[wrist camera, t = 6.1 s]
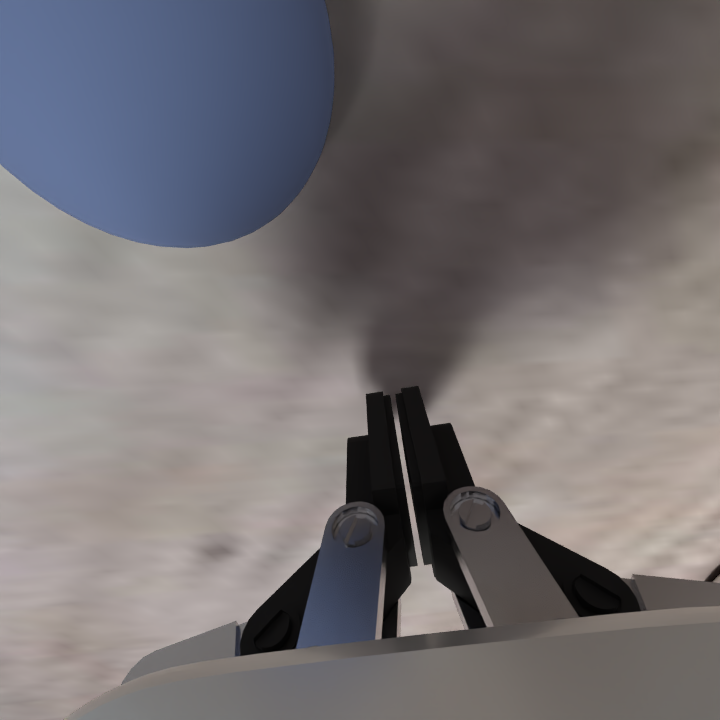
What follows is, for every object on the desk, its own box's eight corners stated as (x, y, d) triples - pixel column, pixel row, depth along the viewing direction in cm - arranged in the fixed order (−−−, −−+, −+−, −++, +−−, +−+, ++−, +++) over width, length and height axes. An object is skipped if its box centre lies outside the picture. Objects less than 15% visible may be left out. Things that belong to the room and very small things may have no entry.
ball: (-512, -472, 1) (380, 261, 6) (46, -712, 3) (418, -3, 7) (-197, 161, 5) (196, 318, 10) (-22, -95, 7) (247, 136, 11)
